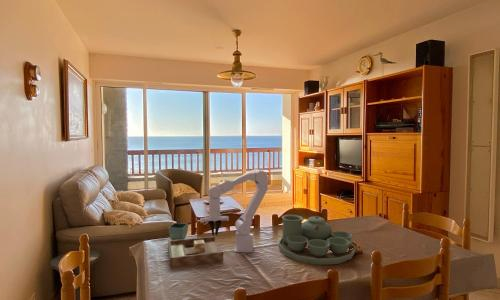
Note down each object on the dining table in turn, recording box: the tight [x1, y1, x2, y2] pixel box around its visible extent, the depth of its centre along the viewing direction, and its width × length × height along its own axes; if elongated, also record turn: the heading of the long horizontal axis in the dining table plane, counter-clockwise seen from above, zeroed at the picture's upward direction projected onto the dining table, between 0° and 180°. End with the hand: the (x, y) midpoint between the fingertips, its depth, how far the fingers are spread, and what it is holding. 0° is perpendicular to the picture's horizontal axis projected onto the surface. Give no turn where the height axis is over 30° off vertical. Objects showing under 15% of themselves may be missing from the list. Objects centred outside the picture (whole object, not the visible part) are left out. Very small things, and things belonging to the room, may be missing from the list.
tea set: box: [278, 214, 356, 266], centre depth 166 cm, size 40×40×16 cm
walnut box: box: [167, 235, 224, 268], centre depth 159 cm, size 25×24×4 cm
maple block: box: [194, 240, 205, 252], centre depth 159 cm, size 5×5×4 cm
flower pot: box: [168, 222, 189, 240], centre depth 179 cm, size 9×9×9 cm
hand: (214, 234), depth 161 cm, fingers closed
